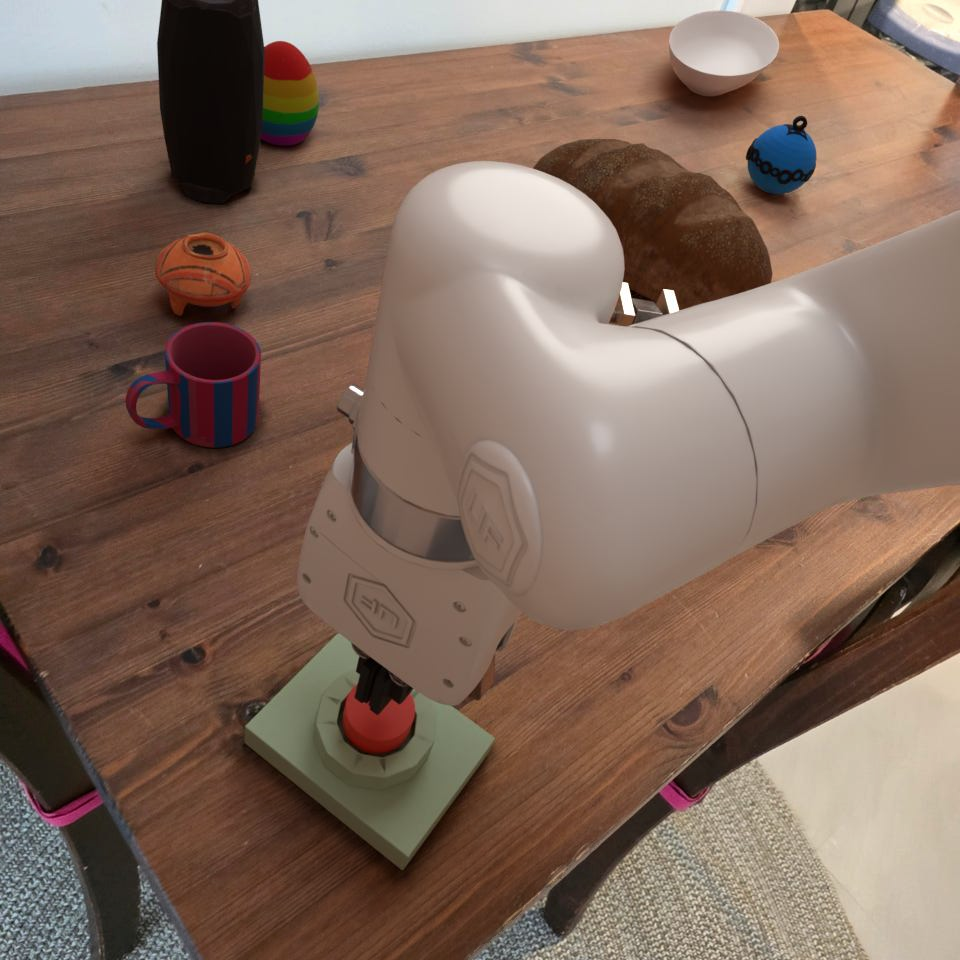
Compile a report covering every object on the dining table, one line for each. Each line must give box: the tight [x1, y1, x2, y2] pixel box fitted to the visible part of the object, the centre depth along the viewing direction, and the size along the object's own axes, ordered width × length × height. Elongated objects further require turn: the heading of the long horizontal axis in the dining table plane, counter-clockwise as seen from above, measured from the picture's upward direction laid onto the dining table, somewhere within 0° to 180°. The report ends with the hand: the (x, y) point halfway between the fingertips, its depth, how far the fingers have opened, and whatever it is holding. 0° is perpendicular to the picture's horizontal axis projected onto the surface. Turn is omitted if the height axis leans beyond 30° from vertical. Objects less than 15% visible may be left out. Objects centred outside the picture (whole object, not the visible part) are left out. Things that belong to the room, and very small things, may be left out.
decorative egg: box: [261, 40, 320, 147], centre depth 96 cm, size 8×8×10 cm
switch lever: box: [631, 297, 663, 325], centre depth 69 cm, size 12×5×2 cm, turn 1°
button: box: [342, 685, 415, 754], centre depth 51 cm, size 4×4×2 cm
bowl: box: [668, 10, 780, 97], centre depth 134 cm, size 30×15×6 cm, turn 150°
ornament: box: [745, 115, 818, 195], centre depth 112 cm, size 9×9×10 cm
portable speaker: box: [156, 0, 265, 204], centre depth 83 cm, size 9×9×20 cm
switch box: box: [243, 632, 496, 871], centre depth 53 cm, size 12×9×4 cm
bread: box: [532, 138, 773, 310], centre depth 94 cm, size 16×29×11 cm, turn 55°
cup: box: [125, 321, 262, 449], centre depth 66 cm, size 7×10×7 cm
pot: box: [154, 232, 252, 316], centre depth 76 cm, size 8×8×7 cm
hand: (383, 688), depth 49 cm, fingers closed
